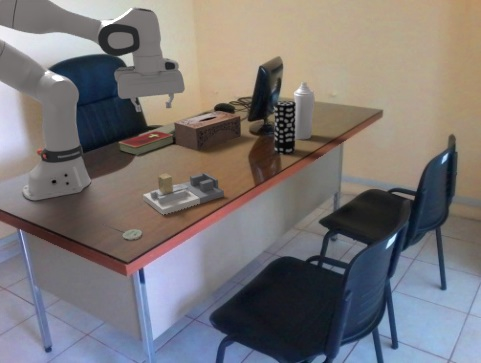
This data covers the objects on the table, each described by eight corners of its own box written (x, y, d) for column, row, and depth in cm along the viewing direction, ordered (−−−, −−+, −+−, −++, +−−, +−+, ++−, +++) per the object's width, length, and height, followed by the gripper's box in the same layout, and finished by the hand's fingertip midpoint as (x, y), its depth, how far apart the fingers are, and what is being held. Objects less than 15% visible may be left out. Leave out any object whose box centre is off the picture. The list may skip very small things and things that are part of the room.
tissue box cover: (219, 131, 221) (218, 110, 217) (241, 137, 211) (240, 115, 207) (176, 144, 204) (174, 122, 200) (197, 151, 195) (195, 128, 191)
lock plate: (163, 215, 141) (161, 200, 139) (143, 200, 151) (141, 185, 149) (223, 196, 152) (223, 182, 150) (201, 183, 163) (200, 169, 161)
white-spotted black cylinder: (297, 149, 193) (298, 101, 185) (291, 155, 186) (291, 106, 178) (278, 147, 196) (278, 100, 188) (271, 153, 189) (271, 104, 182)
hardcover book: (119, 151, 199) (117, 141, 198) (156, 138, 214) (155, 129, 212) (137, 156, 192) (135, 146, 190) (174, 143, 207) (173, 134, 205)
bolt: (160, 201, 145) (158, 180, 142) (155, 197, 147) (153, 176, 145) (188, 192, 150) (187, 172, 147) (183, 189, 153) (181, 169, 150)
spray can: (320, 137, 207) (322, 80, 198) (305, 143, 200) (307, 84, 190) (299, 132, 215) (300, 77, 205) (284, 137, 208) (285, 81, 198)
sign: (110, 219, 138) (145, 232, 130) (110, 222, 139) (146, 234, 130) (96, 226, 134) (131, 240, 126) (96, 229, 135) (132, 243, 127)
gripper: (114, 69, 135) (120, 115, 140) (183, 63, 140) (187, 108, 146) (112, 66, 140) (119, 111, 146) (179, 60, 146) (183, 104, 151)
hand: (153, 109), depth 146 cm, fingers open, 8 cm apart
